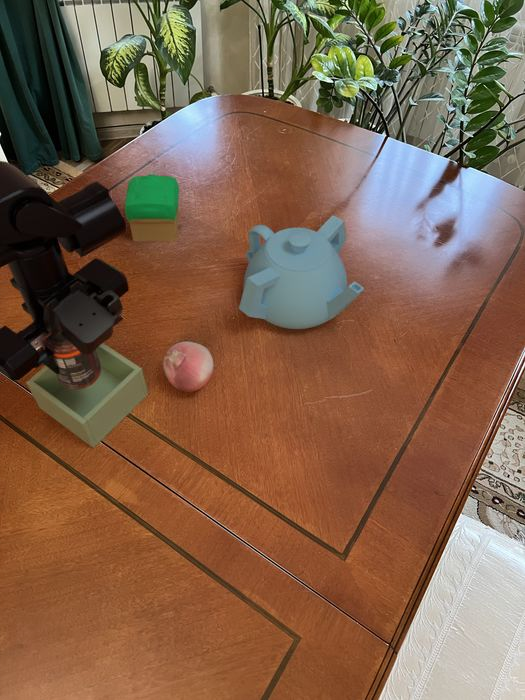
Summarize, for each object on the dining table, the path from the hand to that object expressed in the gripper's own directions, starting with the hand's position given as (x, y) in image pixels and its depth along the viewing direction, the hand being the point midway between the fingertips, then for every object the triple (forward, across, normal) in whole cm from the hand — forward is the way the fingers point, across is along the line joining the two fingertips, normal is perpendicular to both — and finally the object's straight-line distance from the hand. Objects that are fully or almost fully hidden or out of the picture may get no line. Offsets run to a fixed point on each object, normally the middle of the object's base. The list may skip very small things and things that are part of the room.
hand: (74, 357), depth 76 cm
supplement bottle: (+4, 0, 0) cm, 4 cm away
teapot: (+13, +37, -12) cm, 41 cm away
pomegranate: (+13, +13, -8) cm, 20 cm away
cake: (+13, +37, +21) cm, 44 cm away
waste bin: (+13, +1, +1) cm, 13 cm away
